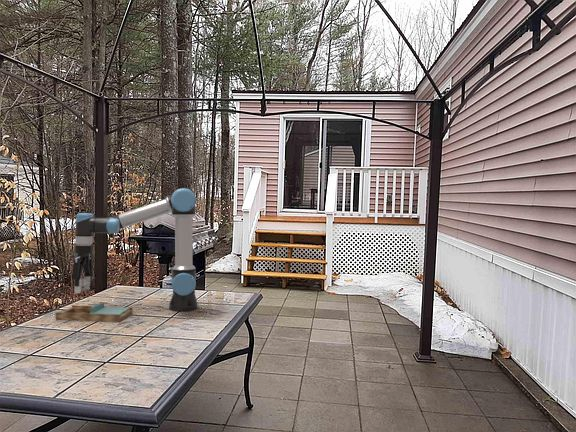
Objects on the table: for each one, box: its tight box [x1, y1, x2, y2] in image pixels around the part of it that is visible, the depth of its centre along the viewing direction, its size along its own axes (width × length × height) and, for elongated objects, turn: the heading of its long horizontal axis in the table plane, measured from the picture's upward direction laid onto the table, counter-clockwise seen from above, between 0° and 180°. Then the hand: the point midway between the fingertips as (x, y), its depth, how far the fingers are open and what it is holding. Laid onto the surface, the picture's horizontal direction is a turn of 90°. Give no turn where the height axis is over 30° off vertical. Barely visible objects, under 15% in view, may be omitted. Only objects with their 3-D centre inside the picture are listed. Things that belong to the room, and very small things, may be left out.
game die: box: [72, 275, 93, 293], centre depth 203 cm, size 9×8×10 cm
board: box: [55, 304, 133, 323], centre depth 203 cm, size 30×15×3 cm, turn 89°
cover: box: [90, 301, 131, 315], centre depth 203 cm, size 14×13×3 cm
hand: (82, 291), depth 203 cm, fingers closed on game die, 8 cm apart
